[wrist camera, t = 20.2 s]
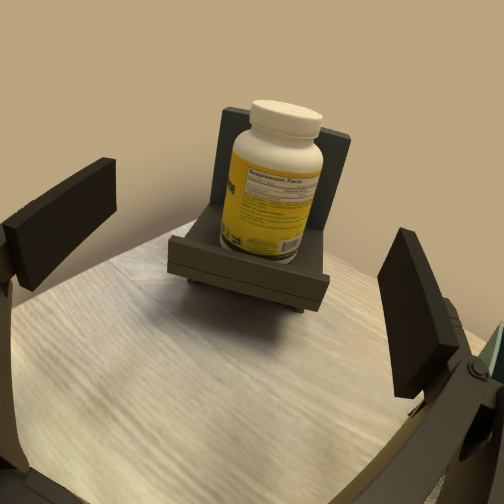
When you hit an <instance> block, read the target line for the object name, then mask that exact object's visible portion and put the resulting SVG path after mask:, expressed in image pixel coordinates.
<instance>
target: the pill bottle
mask: <svg viewBox="0 0 504 504" xmlns="http://www.w3.org/2000/svg"><path fill="white" fill-rule="evenodd" d="M249 118H250V120H249V122H250V123H251V124H252V127H251V129H250V130H247V131H244V132H243V133H241V134H240V135H239V136H238V137H237V138H236V140H235V142H234V145H233V150H232V156H231V163H230V170H229V176H228V183H227V189H226V195H225V203H224V209H223V216H222V223H221V231H220V242H221V245H222V247H223V248H225V249H229V250H232V251H236V252H240V253H244V254H248V255H252V256H256V257H260V258H264V259H267V260H271V261H275V262H279V263H283V264H288V263H289V262H290V261H292V260H293V259H294V257H295V256H296V254H297V251H298V248H299V245H300V242H301V239H302V235H303V232H304V228H305V225H306V222H307V218H308V215H309V211H310V208H311V204H312V201H313V197H314V194H315V190H316V187H317V184H318V180H319V177H320V173H321V169H322V165H323V156H322V153H321V151H320V149H319V148H318V147H317V146H316V145H315V144H314V143H313V142H314V138H317V137H318V134H319V132H320V128H321V124H322V120H323V117H322V116H321V115H320V114H319V113H317V112H315V111H312V110H310V109H307V108H304V107H301V106H297V105H293V104H289V103H284V102H278V101H270V100H257V101H254V102H253V103H252V107H251V112H250V116H249Z"/></svg>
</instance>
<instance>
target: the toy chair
mask: <svg viewBox="0 0 504 504" xmlns="http://www.w3.org/2000/svg"><path fill="white" fill-rule="evenodd" d="M250 112H251V111H250V110H245V109H239V108H233V107H227V108H225V109H223V111H222V118H221V124H220V131H219V137H218V144H217V151H216V158H215V166H214V173H213V180H212V189H211V196H210V203H209V204H208V205H207V207H206V208H205V210H204V211H203V213H202V214H201V215H200V216H199V218H198V219H197V221H196V222H195V223H194V225H193V226H192V228H191V229H190V230H189V232H188V233H187V235H186V236H185V237H184V238H182V237H178V236H175V235H172V236H171V238H170V239H169V240H168V262H167V272H168V273H171V274H175V275H178V276H182V277H185V278H188V281H187V282H188V283H191V284H196V282H197V281H199V282H203V283H206V284H210V285H214V286H217V287H221V288H225V289H228V290H232V291H236V292H240V293H243V294H247V295H251V296H255V297H259V298H263V299H266V300H270V301H274V302H278V303H282V304H286V305H290V306H294V307H295V311H297V312H301V313H303V312H304V309H306V310H310V311H315V312H318V310H319V307H320V305H321V303H322V300H323V298H324V295H325V293H326V290H327V288H328V285H329V283H330V276H329V275H326V274H323V230H324V227H325V224H326V221H327V217H328V215H329V212H330V209H331V205H332V202H333V199H334V196H335V193H336V189H337V186H338V183H339V180H340V177H341V173H342V170H343V167H344V163H345V160H346V156H347V153H348V149H349V146H350V142H351V138H350V136H349V135H348V134H345V133H341V132H338V131H334V130H331V129H327V128H323V127H321V128H320V132H319V134H318V137H317V138H314V142H313V143H314V144H315V145H316V146H317V147H318V148H319V149H320V151H321V153H322V156H323V165H322V169H321V173H320V177H319V180H318V184H317V187H316V190H315V194H314V197H313V201H312V204H311V208H310V211H309V215H308V218H307V222H306V225H305V228H304V232H303V235H302V239H301V242H300V245H299V248H298V251H297V254H296V256H295V257H294V259H293V260H292V261H290V262H289V263H288V264H283V263H279V262H275V261H271V260H267V259H264V258H260V257H256V256H252V255H248V254H244V253H240V252H236V251H232V250H229V249H225V248H223V247H222V245H221V242H220V231H221V223H222V216H223V209H224V203H225V195H226V189H227V183H228V176H229V170H230V163H231V156H232V150H233V145H234V142H235V140H236V138H237V137H238V136H239V135H240V134H241V133H243V132H244V131H247V130H250V129H251V127H252V124H251V123H250V122H249V120H250V118H249V116H250Z"/></svg>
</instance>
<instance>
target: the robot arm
mask: <svg viewBox="0 0 504 504" xmlns="http://www.w3.org/2000/svg"><path fill="white" fill-rule="evenodd" d="M116 207H117V206H116V160H115V159H111V158H105V157H103V158H101V159H99V160H97V161H96V162H94V163H92V164H90V165H89V166H87V167H85V168H83V169H82V170H80V171H79V172H77V173H75V174H74V175H72V176H70V177H69V178H67V179H66V180H64V181H62V182H61V183H60V184H58V185H56V186H55V187H53V188H52V189H50V190H49V191H47V192H46V193H44V194H43V195H41V196H40V197H38V198H37V199H35V200H33V201H31V202H30V203H28V204H27V205H25V206H24V208H21V209H20V210H18V211H17V213H14V214H13V215H12V216H10V217H9V218H8V219H6V220H5V221H4V222H2V223H1V224H0V504H90V503H88V502H86V501H85V500H83V499H82V498H80V497H78V496H77V495H75V494H74V493H72V492H71V491H69V490H68V489H66V488H65V487H63V486H61V485H59V484H58V483H56V482H54V481H53V480H51V479H49V478H48V477H46V476H44V475H43V474H41V473H39V472H38V471H36V470H35V469H33V468H32V467H30V466H29V463H28V460H27V458H26V456H25V454H24V452H23V450H22V448H21V446H20V443H19V439H18V433H17V427H16V419H15V411H14V402H13V390H12V376H11V305H12V289H13V285H12V281H11V278H12V277H13V276H14V275H15V274H16V276H17V279H18V282H19V285H20V286H21V287H23V288H25V289H27V290H30V291H32V292H33V291H34V290H35V289H36V288H37V287H38V286H39V285H40V284H41V283H42V282H43V280H45V279H46V277H48V275H49V274H50V273H51V272H52V271H53V270H54V269H55V268H56V267H57V266H58V265H59V264H60V263H61V262H62V261H63V260H64V259H65V258H66V257H67V256H68V255H69V254H70V253H71V252H72V251H73V250H74V249H75V248H76V247H78V246H79V245H80V244H81V243H82V242H83V241H84V240H85V239H86V238H87V237H88V236H89V235H90V234H91V233H92V232H93V231H94V230H96V229H97V228H98V227H99V226H100V225H101V224H102V223H103V222H104V221H106V220H107V219H108V218H109V217H110V216H111V215H112V214H113V213H114V212H115V211H117V208H116ZM377 278H378V283H379V289H380V294H381V300H382V305H383V311H384V317H385V323H386V330H387V337H388V344H389V351H390V359H391V367H392V376H393V385H394V396H395V397H399V398H407V399H414V398H415V397H416V396H417V395H418V394H419V393H420V392H421V391H422V390H423V392H424V398H425V399H424V400H423V401H422V402H421V403H420V404H419V405H418V406H417V407H416V408H415V409H414V410H413V411H411V412H410V413H409V414H408V416H409V418H408V419H407V421H406V422H405V423H404V424H403V425H402V427H401V428H400V429H399V430H398V432H397V433H396V434H395V435H394V436H393V438H392V439H391V440H390V441H389V442H388V443H387V444H386V446H385V447H384V448H383V449H382V450H381V451H380V452H379V453H378V455H377V456H376V457H375V458H374V459H373V460H372V461H371V462H370V463H369V464H368V465H367V466H366V467H365V468H364V469H363V471H362V472H361V473H360V474H359V475H358V476H357V477H356V478H355V479H354V480H353V481H352V482H351V483H350V484H348V485H347V486H346V487H345V488H344V489H343V490H342V491H341V492H340V493H339V494H338V495H337V496H336V497H335V498H334V499H332V500H331V501H330V502H329V503H328V504H423V503H424V501H425V500H426V498H427V497H428V496H429V494H430V493H431V491H432V490H433V488H434V487H435V485H436V484H437V482H438V481H439V479H440V478H441V476H442V475H443V473H444V471H445V470H446V468H447V467H448V465H449V463H450V465H449V469H448V472H447V474H446V477H445V480H444V483H443V486H442V488H441V491H440V494H439V496H438V499H437V501H436V504H504V384H502V383H500V382H498V381H496V380H494V379H492V378H491V376H490V371H489V369H488V367H487V366H486V364H485V363H484V362H483V361H482V360H481V359H479V358H478V357H476V356H474V355H472V353H471V350H470V347H469V344H468V341H467V338H466V335H465V333H464V330H463V329H462V324H461V322H460V321H459V317H458V314H457V311H456V308H455V307H454V306H453V304H452V303H451V302H450V301H449V299H447V298H444V297H442V295H441V292H440V289H439V287H438V284H437V282H436V279H435V277H434V275H433V272H432V270H431V267H430V265H429V263H428V260H427V258H426V256H425V254H424V251H423V249H422V247H421V244H420V242H419V240H418V238H417V236H416V233H415V232H413V231H410V230H407V229H404V228H401V227H400V228H399V230H398V233H397V235H396V238H395V240H394V242H393V244H392V246H391V248H390V251H389V253H388V255H387V257H386V259H385V262H384V263H383V266H382V268H381V270H380V272H379V274H378V276H377Z"/></svg>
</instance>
